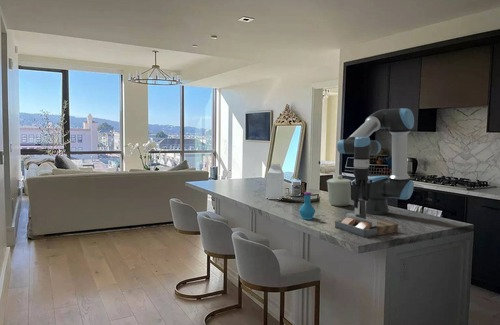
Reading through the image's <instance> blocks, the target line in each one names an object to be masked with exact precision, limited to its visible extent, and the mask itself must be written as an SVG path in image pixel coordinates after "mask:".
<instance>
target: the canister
mask: <svg viewBox="0 0 500 325" xmlns="http://www.w3.org/2000/svg"><path fill="white" fill-rule="evenodd" d="M350 181H352V180H351V179H348V178H343V174H338V175H337V176H336V178H335V177H334V178H329V179H327V180H326V184H327V194H328V195H327V196H328V202H329V204H330V205H331V206H333V207H334V206H335V207H345V206H349V203H350V200H351V185H350Z"/></svg>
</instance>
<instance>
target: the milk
mask: <svg viewBox="0 0 500 325" xmlns="http://www.w3.org/2000/svg"><path fill="white" fill-rule="evenodd" d="M284 175H285V174H284V171H283V168H282V166H281V164H280V163H271V165H270V167H269V169H268V171H267V173H266V182H265V183H266V184H265V195H264V196H265V197H264V198H268V199H267V200H269V199H277V198H281V197H282V196H284V197H285V176H284Z"/></svg>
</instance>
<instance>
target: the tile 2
mask: <svg viewBox="0 0 500 325" xmlns="http://www.w3.org/2000/svg"><path fill="white" fill-rule="evenodd" d="M356 227H358V228H361V229H364V230H366V229H369V228H370V224H369V223H366V222H363V221H361V222H360V223H359V224H358V225H357V226H356Z"/></svg>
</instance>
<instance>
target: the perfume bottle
mask: <svg viewBox="0 0 500 325" xmlns="http://www.w3.org/2000/svg"><path fill="white" fill-rule="evenodd" d="M303 194H304V195H303V196H304V199H303V200H304V203H303V204H302V205H301V207H300V208H299V210H298V212H299V214H300V216H301V217H300V218H301V219H303V220H313V218H314V215H315V213H316V209H315V208H314V206H313V204H311V202H312V201H311V200H312V199H311V198H312V197H311V196H312V192H310V191H309V192H308V191H305V192H303Z"/></svg>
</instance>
